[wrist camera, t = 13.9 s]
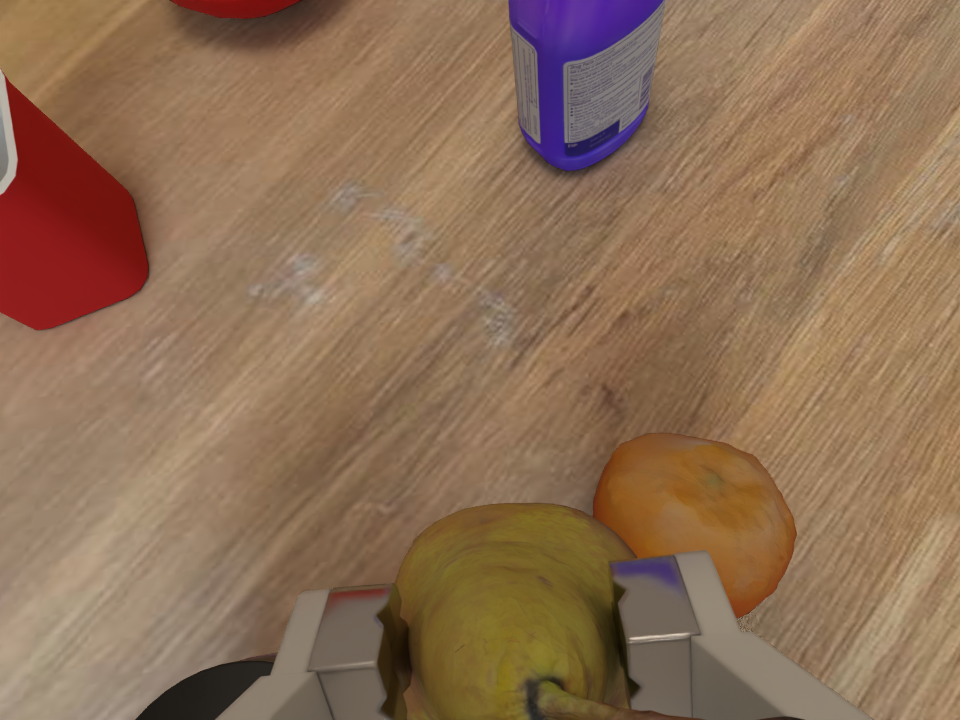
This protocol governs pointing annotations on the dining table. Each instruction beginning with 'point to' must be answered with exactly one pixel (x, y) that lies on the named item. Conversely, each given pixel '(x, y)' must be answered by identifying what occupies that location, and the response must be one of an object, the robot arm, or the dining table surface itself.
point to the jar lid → (208, 691)
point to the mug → (60, 223)
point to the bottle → (583, 74)
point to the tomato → (236, 7)
